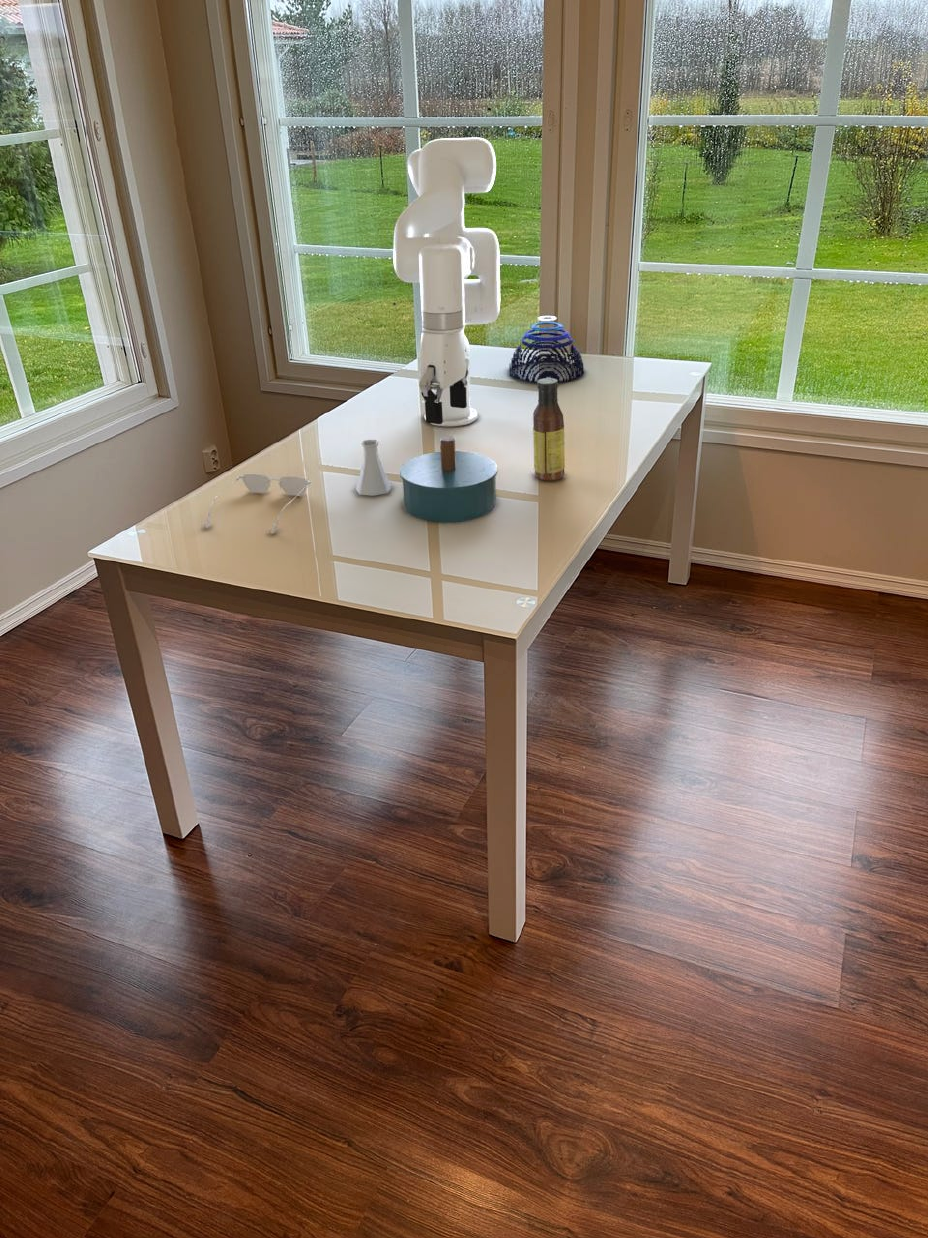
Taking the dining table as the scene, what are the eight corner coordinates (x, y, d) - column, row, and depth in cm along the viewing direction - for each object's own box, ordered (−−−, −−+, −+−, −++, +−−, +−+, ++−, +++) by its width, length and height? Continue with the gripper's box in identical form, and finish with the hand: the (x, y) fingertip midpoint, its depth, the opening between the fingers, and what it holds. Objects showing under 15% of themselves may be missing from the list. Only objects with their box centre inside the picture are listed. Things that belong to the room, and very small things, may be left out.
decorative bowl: (587, 382, 248) (589, 326, 240) (510, 384, 248) (510, 328, 241) (580, 361, 265) (582, 308, 257) (508, 362, 265) (508, 310, 258)
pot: (385, 503, 184) (383, 472, 181) (451, 478, 195) (450, 448, 191) (447, 530, 173) (446, 497, 170) (513, 501, 183) (514, 470, 180)
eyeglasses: (313, 495, 189) (311, 477, 186) (278, 535, 173) (275, 515, 171) (241, 490, 192) (238, 472, 190) (201, 528, 177) (197, 509, 175)
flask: (355, 483, 193) (351, 436, 188) (391, 481, 194) (388, 434, 189) (355, 497, 187) (351, 449, 182) (392, 495, 188) (388, 447, 182)
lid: (380, 475, 181) (377, 439, 178) (451, 449, 192) (449, 415, 188) (446, 502, 170) (444, 464, 166) (517, 473, 180) (517, 437, 177)
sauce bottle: (567, 472, 196) (570, 376, 185) (560, 483, 191) (562, 386, 180) (536, 468, 198) (538, 374, 187) (528, 480, 193) (529, 383, 182)
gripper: (446, 308, 174) (449, 399, 183) (400, 329, 161) (406, 426, 169) (483, 311, 171) (485, 403, 180) (439, 333, 158) (443, 432, 166)
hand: (446, 414), depth 175 cm, fingers open, 9 cm apart
